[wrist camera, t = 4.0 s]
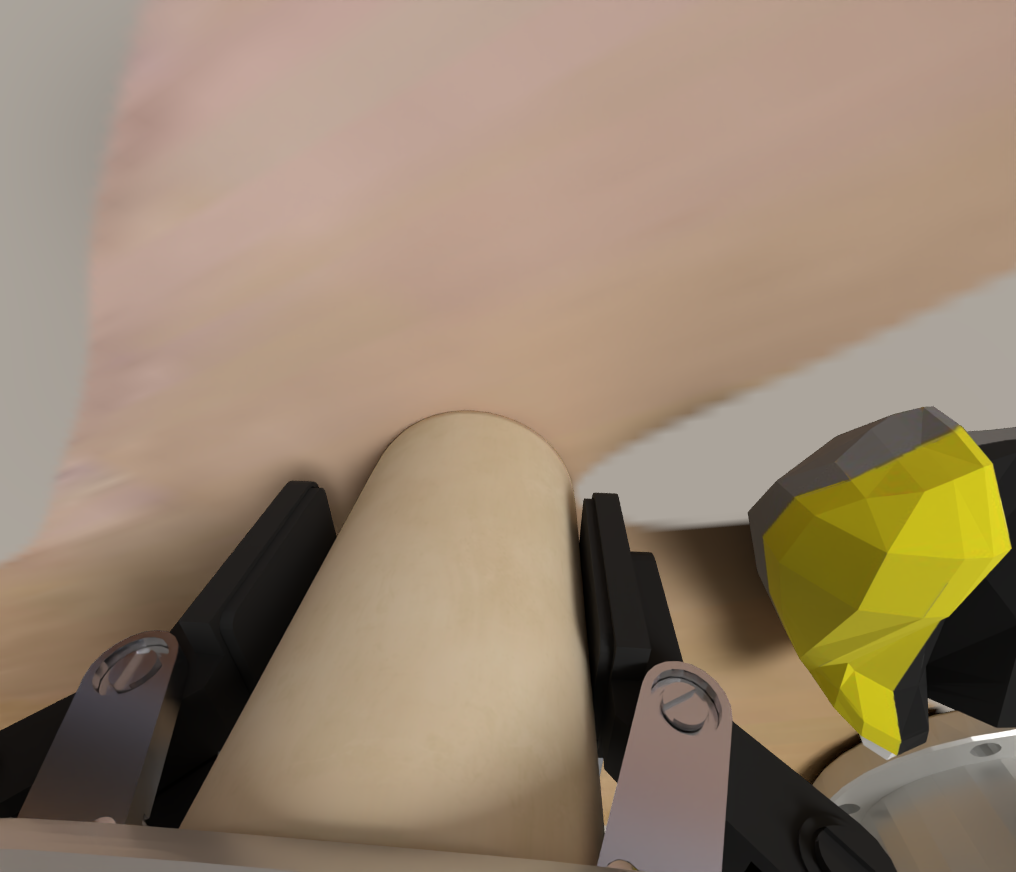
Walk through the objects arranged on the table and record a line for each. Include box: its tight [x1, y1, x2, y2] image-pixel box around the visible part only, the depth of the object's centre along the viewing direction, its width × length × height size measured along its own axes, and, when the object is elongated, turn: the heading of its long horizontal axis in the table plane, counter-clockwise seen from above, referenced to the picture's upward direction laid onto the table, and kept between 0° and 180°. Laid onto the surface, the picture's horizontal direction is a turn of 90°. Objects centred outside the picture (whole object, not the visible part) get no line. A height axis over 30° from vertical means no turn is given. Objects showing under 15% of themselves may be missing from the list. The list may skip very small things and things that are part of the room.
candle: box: [179, 411, 605, 866], centre depth 9 cm, size 6×6×10 cm
